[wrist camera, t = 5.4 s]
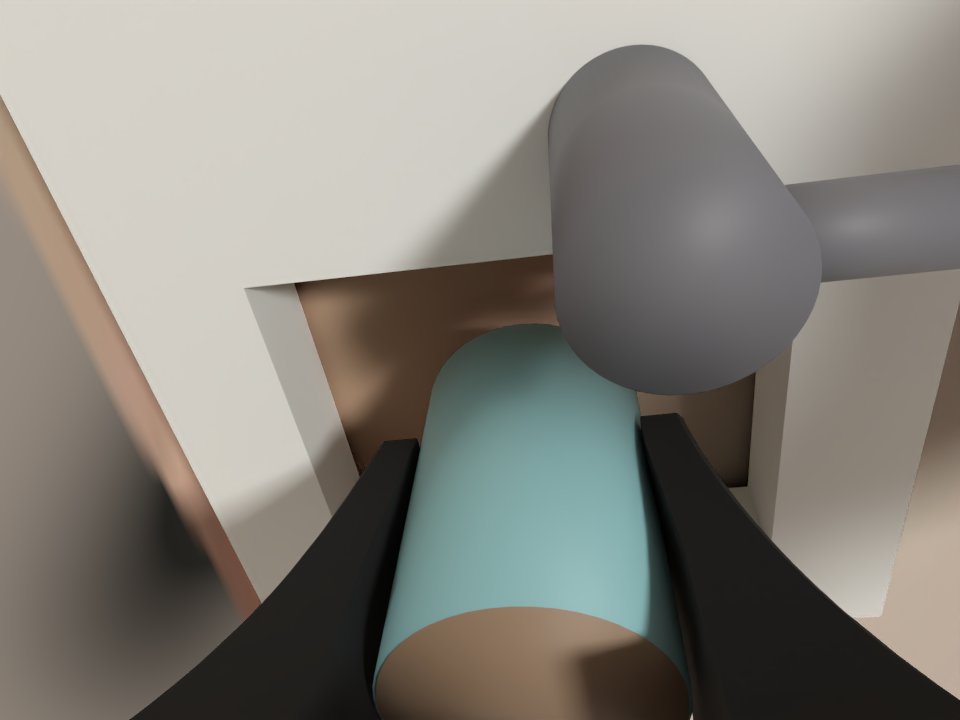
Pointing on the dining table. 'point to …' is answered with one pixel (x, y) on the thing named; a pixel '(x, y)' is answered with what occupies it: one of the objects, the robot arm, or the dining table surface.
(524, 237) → the white box with opening
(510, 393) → the cylinder
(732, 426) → the dining table surface
